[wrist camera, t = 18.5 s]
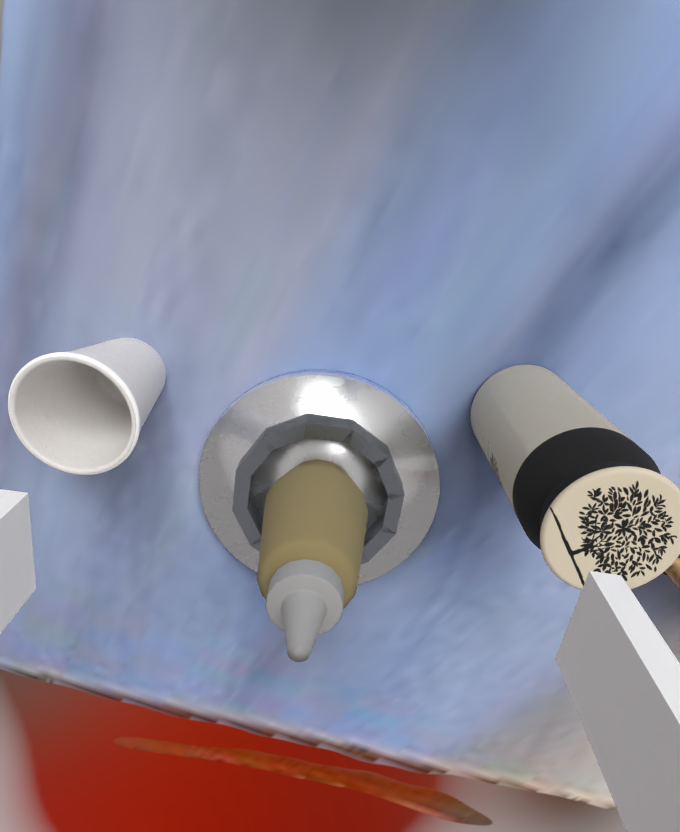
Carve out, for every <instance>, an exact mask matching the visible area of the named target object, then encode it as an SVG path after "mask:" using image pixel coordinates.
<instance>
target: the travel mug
mask: <svg viewBox="0 0 680 832" xmlns="http://www.w3.org/2000/svg"><path fill="white" fill-rule="evenodd" d="M471 425H472V429H473V432H474V434H475V436H476V438H477V440H478V442H479V444H480V445H481V447H482V449H483V451H484V453H485V455H486V457H487V459H488V461H489V463H490V465H491V467H492V469H493V471H494V473H495V475H496V477H497V478H498V480H499V482H500V484H501V486H502V488H503V490H504V492H505V494H506V496H507V498H508V500H509V502H510V504H511V506H512V508H513V510H514V511H515V513H516V515H517V517H518V519H519V521H520V523H521V525H522V527H523V529H524V531H525V533H526V534H527V536H528V537H529V539H530V540H531V541H532V542H533V543H534V544H535V545H536V546H537V547H538V548H539V549H541V551H542V554H543V557H544V559H545V561H546V563H547V565H548V566H549V568H550V569H551V571H552V572H553V573H554V574H555V575H556V576H557V577H558V578H559V579H561V580H562V581H564V582H565V583H567V584H569V585H570V586H573V587H575V588H578V589H580V590H582V589H583V586H584V583H585V581H586V578H587V576H588V573H589V571H593V572H601V573H608V574H615V575H621V576H622V577H623V579H624V580H625V582H626V583H627V585H628V586H629V588H630V589H633V588H636V587H639V586H641V585H643V584H646V583H648V582H649V581H651V580H653V579H655V578H656V577H657V576H659V575H660V574H662V573H663V572H664V571H665V570H666V569H668V568H669V567H670V566H671V565H672V563H673V562H674V561H675V560H676V559H677V557H678V556H679V554H680V490H679V489H678V487H677V486H676V485H675V484H674V483H672V482H671V481H670V480H669V479H667V478H666V477H664V476H663V475H661V474H660V471H659V469H658V467H657V465H656V464H655V462H654V461H653V460H652V458H651V457H650V456H649V455H648V454H647V453H646V452H645V451H643V450H642V449H641V448H640V447H639V446H638V445H637V444H635V443H634V442H633V441H632V440H631V439H630V438H628V437H627V436H626V435H625V434H624V433H623V432H622V431H620V430H619V429H618V428H617V427H616V426H615V425H613V424H612V423H611V422H610V421H609V420H608V419H607V418H605V417H604V416H603V415H602V414H601V413H600V412H598V411H597V410H596V409H595V408H594V407H593V406H592V405H590V404H589V403H588V402H587V401H586V400H585V399H584V398H582V397H581V396H580V395H579V394H578V393H577V392H575V391H574V390H573V389H572V388H571V387H570V386H569V385H567V384H566V383H565V382H564V381H563V380H562V379H560V378H559V377H558V376H557V375H556V374H554V373H553V372H551V371H550V370H548V369H546V368H543V367H540V366H535V365H517V366H512V367H509V368H506V369H503V370H501V371H499V372H498V373H496V374H494V375H493V376H491V377H490V378H489V379H488V380H487V381H486V382H485V383H484V384H483V385H482V386H481V387H480V389H479V390H478V392H477V394H476V395H475V398H474V400H473V403H472V407H471Z"/></svg>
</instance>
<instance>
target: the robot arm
mask: <svg viewBox="0 0 680 832" xmlns="http://www.w3.org/2000/svg"><path fill="white" fill-rule="evenodd" d="M35 590H36V580H35V568H34V556H33V544H32V532H31V520H30V508H29V496H28V493H25V492H17V491H10V490H3V489H0V634H1V632H2V631H3V630H4V629H5V627H6V626H7V625H8V624H9V622H10V621H11V620H12V619H13V617H14V616H15V615H16V614H17V612H18V611H19V610H20V608H21V607H22V606H23V605H24V603H25V602H26V601H27V600H28V598H29V597H30V596H31V595H32V593H33V592H34V591H35ZM555 659H556V661H557V664H558V666H559V669H560V671H561V673H562V676H563V678H564V681H565V683H566V686H567V688H568V691H569V693H570V695H571V698H572V700H573V703H574V705H575V708H576V710H577V712H578V715H579V717H580V720H581V722H582V725H583V727H584V729H585V732H586V734H587V737H588V739H589V742H590V744H591V747H592V749H593V751H594V754H595V756H596V759H597V761H598V764H599V766H600V768H601V771H602V773H603V776H604V778H605V781H606V783H607V786H608V788H609V790H610V793H611V795H612V798H613V800H614V803H615V805H616V807H617V810H618V812H619V815H620V817H621V820H622V822H623V824H624V827H625V829H626V832H680V663H679V662H678V660H677V659H676V657H675V656H674V654H673V653H672V651H671V650H670V648H669V647H668V645H667V644H666V642H665V641H664V639H663V638H662V636H661V635H660V633H659V632H658V630H657V629H656V627H655V626H654V624H653V623H652V621H651V620H650V618H649V617H648V615H647V614H646V612H645V611H644V609H643V608H642V606H641V604H640V603H639V601H638V600H637V598H636V597H635V595H634V594H633V592H632V591H631V589H630V588H629V586H628V585H627V583H626V582H625V580H624V579H623V577H622V576H621V575H615V574H608V573H601V572H593V571H589V573H588V576H587V578H586V581H585V583H584V586H583V589H582V591H581V594H580V596H579V599H578V601H577V604H576V607H575V609H574V612H573V614H572V617H571V619H570V622H569V625H568V627H567V630H566V632H565V635H564V638H563V640H562V643H561V645H560V648H559V650H558V653H557V656H556V658H555Z"/></svg>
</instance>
